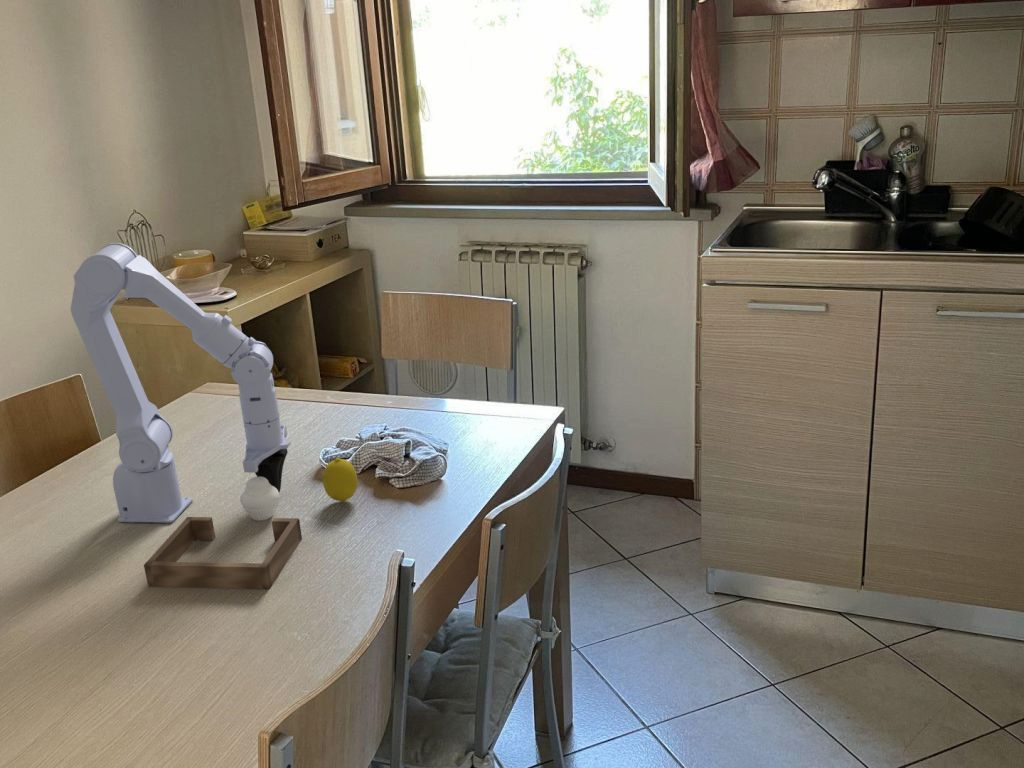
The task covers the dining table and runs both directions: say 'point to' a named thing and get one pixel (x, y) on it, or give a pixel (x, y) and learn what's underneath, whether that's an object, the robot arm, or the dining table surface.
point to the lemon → (340, 480)
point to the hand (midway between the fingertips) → (273, 493)
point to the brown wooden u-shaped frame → (219, 575)
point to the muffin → (259, 498)
